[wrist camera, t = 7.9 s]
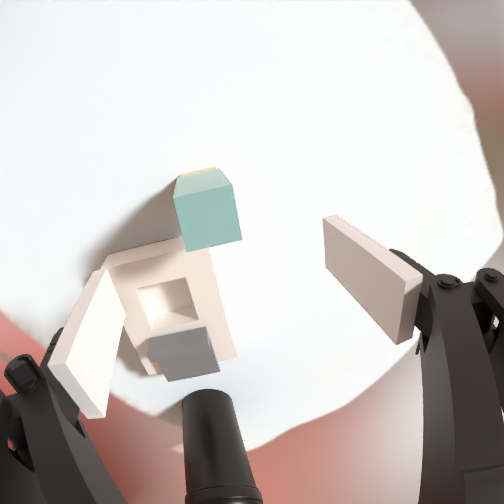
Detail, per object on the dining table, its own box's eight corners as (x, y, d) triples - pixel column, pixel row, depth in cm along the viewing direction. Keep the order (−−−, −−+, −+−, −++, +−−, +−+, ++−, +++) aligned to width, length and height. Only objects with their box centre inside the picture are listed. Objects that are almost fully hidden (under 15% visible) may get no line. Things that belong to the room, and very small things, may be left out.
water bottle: (177, 421, 46) (189, 537, 26) (176, 385, 43) (187, 522, 22) (233, 420, 49) (261, 531, 28) (240, 384, 45) (276, 514, 24)
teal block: (178, 173, 31) (172, 197, 20) (216, 164, 31) (232, 184, 21) (186, 210, 33) (186, 252, 22) (223, 201, 33) (242, 239, 22)
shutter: (149, 338, 33) (147, 356, 30) (206, 326, 34) (208, 344, 31) (168, 377, 36) (168, 395, 33) (219, 367, 37) (222, 384, 34)
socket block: (107, 254, 33) (99, 269, 29) (205, 230, 34) (208, 243, 30) (150, 355, 39) (148, 375, 36) (232, 338, 41) (236, 357, 37)
